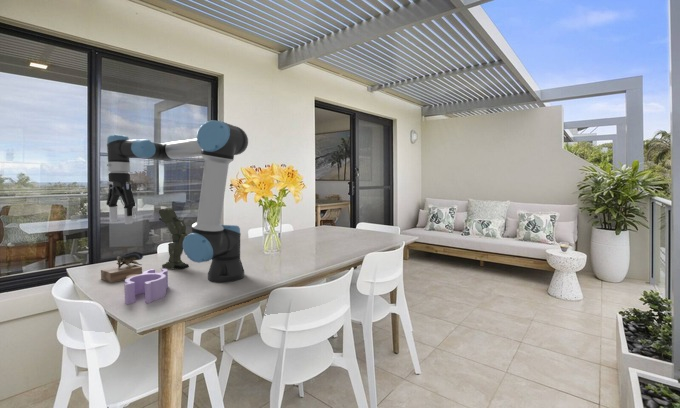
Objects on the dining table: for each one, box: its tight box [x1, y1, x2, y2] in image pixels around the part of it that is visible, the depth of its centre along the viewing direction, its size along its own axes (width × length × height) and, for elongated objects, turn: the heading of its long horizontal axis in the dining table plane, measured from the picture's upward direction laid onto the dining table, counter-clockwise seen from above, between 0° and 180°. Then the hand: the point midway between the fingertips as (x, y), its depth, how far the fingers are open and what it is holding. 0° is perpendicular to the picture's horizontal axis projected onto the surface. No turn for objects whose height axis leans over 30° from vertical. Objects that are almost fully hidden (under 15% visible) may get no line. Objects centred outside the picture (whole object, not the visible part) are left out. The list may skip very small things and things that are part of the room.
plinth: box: [100, 263, 143, 284], centre depth 137 cm, size 9×12×4 cm
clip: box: [123, 268, 169, 305], centre depth 117 cm, size 20×12×7 cm, turn 11°
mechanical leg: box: [158, 207, 189, 270], centre depth 154 cm, size 14×7×30 cm, turn 84°
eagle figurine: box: [115, 251, 144, 268], centre depth 139 cm, size 8×7×9 cm
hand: (121, 222), depth 136 cm, fingers open, 13 cm apart
